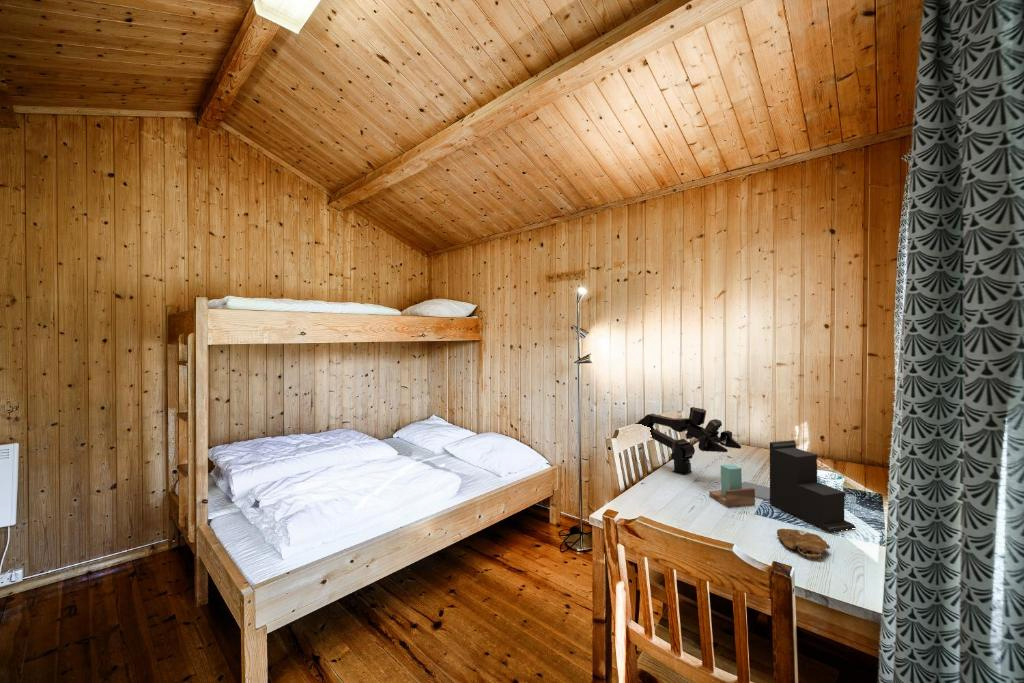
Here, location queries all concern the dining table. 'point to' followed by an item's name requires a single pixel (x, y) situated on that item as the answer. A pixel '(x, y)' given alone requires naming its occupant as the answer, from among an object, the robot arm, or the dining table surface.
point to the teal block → (730, 478)
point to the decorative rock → (803, 542)
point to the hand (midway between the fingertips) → (734, 449)
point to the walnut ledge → (735, 497)
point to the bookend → (804, 488)
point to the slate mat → (758, 490)
